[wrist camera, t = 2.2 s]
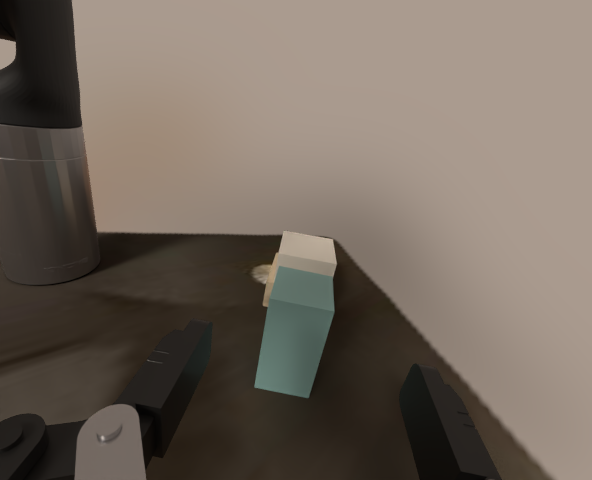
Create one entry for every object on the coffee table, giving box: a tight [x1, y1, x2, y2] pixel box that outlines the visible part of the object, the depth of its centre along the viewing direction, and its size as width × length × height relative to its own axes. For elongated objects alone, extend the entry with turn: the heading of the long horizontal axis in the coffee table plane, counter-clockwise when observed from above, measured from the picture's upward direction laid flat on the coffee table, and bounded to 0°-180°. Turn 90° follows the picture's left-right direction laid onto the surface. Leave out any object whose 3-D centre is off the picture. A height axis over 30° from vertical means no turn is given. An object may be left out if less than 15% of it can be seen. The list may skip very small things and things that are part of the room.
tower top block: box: [274, 230, 337, 281], centre depth 37 cm, size 7×7×4 cm
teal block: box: [255, 266, 335, 398], centre depth 25 cm, size 5×5×10 cm
